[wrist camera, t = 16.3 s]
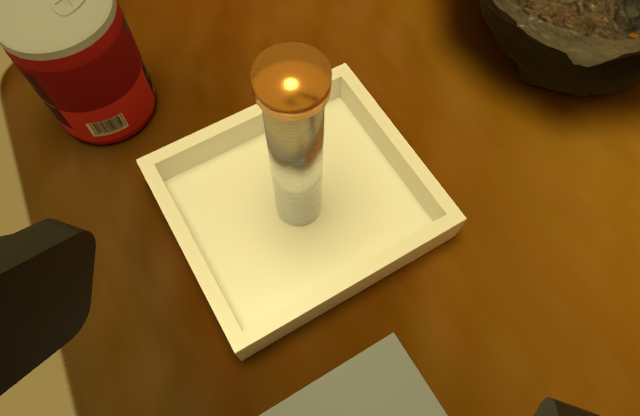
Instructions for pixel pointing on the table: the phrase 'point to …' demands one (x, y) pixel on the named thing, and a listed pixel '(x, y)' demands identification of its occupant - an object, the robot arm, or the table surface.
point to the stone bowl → (570, 42)
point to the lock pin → (294, 124)
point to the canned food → (81, 65)
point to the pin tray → (291, 241)
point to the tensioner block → (366, 388)
